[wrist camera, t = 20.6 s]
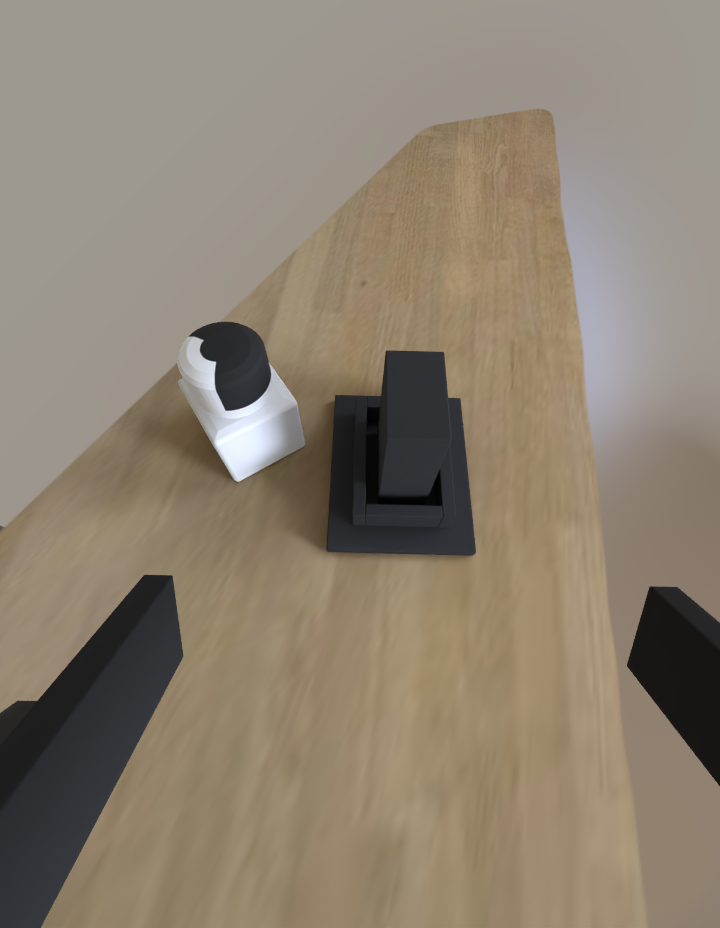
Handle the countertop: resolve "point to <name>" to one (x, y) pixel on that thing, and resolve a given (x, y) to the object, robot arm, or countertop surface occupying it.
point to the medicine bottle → (239, 397)
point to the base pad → (394, 525)
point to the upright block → (412, 426)
